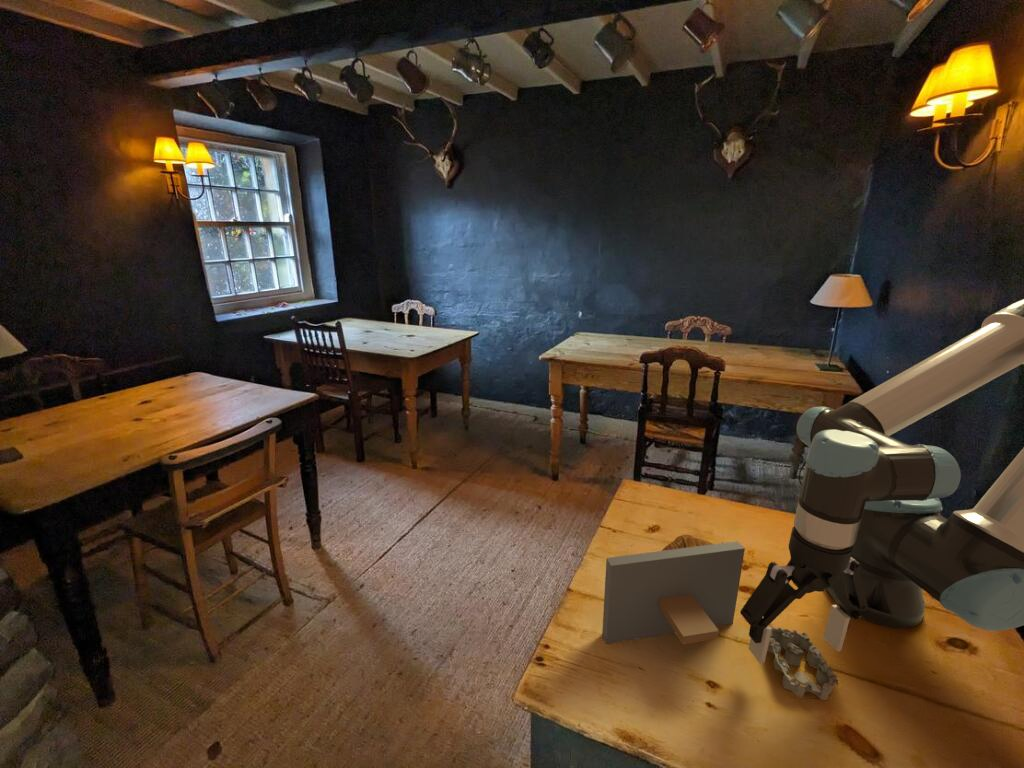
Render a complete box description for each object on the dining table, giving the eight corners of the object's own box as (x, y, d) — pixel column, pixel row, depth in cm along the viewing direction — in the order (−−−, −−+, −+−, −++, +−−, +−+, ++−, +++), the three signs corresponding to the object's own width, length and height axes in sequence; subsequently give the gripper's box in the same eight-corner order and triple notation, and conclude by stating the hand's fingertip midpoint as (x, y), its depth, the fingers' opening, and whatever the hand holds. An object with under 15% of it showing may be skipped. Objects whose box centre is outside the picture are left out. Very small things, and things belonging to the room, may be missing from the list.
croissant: (706, 543, 106) (708, 524, 104) (724, 562, 99) (727, 542, 98) (651, 551, 103) (653, 532, 102) (667, 571, 97) (669, 551, 95)
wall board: (726, 615, 85) (737, 541, 80) (763, 661, 75) (778, 580, 71) (602, 634, 81) (606, 557, 76) (624, 685, 72) (631, 602, 67)
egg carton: (837, 705, 69) (842, 685, 67) (781, 696, 70) (786, 675, 69) (808, 646, 78) (813, 627, 77) (761, 639, 80) (764, 620, 79)
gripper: (872, 513, 72) (842, 621, 79) (728, 527, 68) (709, 640, 75) (920, 542, 65) (883, 658, 72) (763, 560, 61) (738, 682, 67)
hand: (794, 649), depth 73 cm, fingers open, 13 cm apart
